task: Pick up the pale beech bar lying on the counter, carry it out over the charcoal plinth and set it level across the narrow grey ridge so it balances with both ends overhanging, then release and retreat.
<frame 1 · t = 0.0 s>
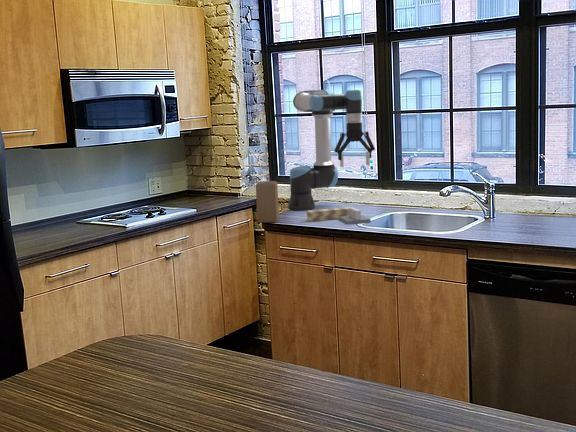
hand: (354, 166, 328), 28 cm above the countertop, fingers open, 13 cm apart
wooden block: (268, 221, 344), on the countertop
beech bar: (330, 219, 344), on the countertop
fulcrum: (354, 220, 336), on the countertop
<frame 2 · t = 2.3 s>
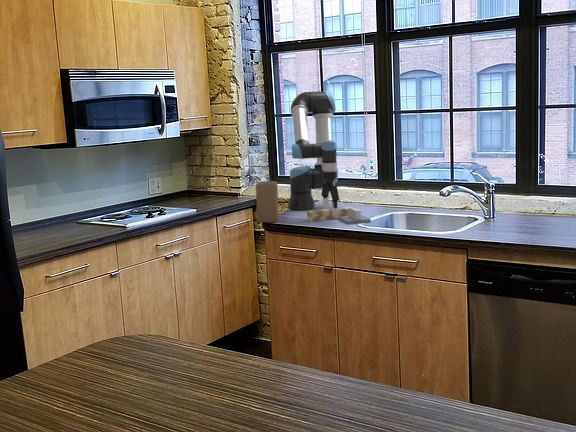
hand: (330, 212, 343), 3 cm above the countertop, fingers open, 13 cm apart
nothing on the countertop moved.
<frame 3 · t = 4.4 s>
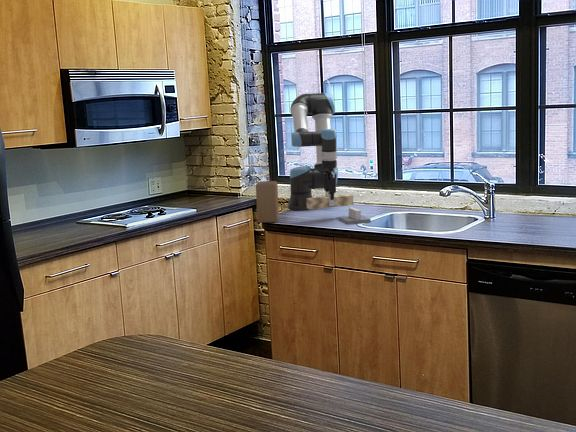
hand: (330, 204, 344), 7 cm above the countertop, fingers closed on beech bar, 4 cm apart
beech bar: (330, 206, 344), point 6 cm above the countertop, touching gripper
everything else where it was.
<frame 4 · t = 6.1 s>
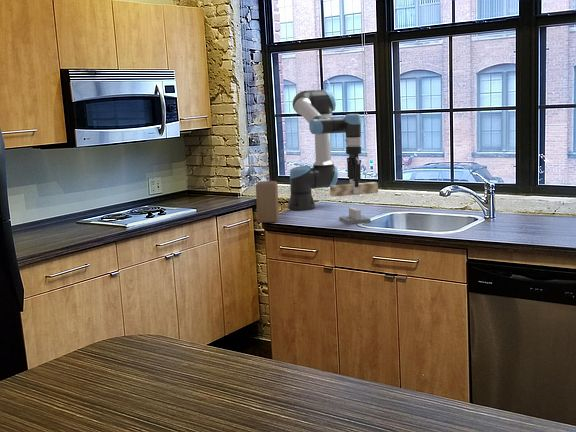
hand: (354, 192, 334), 14 cm above the countertop, fingers closed on beech bar, 4 cm apart
beech bar: (354, 194, 334), point 14 cm above the countertop, touching gripper
everything else where it was.
when the fingers open (8 cm above the countertop, at t = 7.7 s): beech bar stays where it is, resting on fulcrum.
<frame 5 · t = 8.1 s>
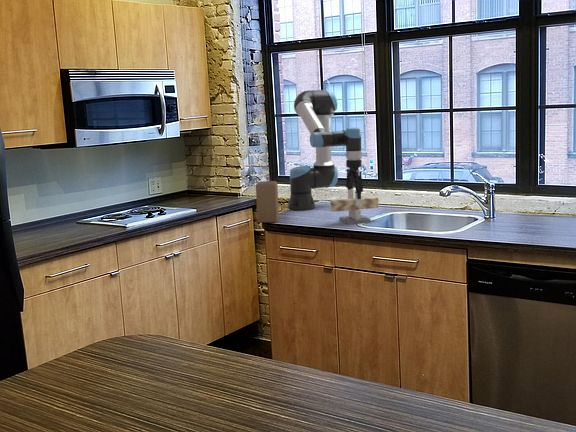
hand: (354, 203, 335), 9 cm above the countertop, fingers open, 10 cm apart
beech bar: (354, 209, 335), point 6 cm above the countertop, touching fulcrum
everything else where it was.
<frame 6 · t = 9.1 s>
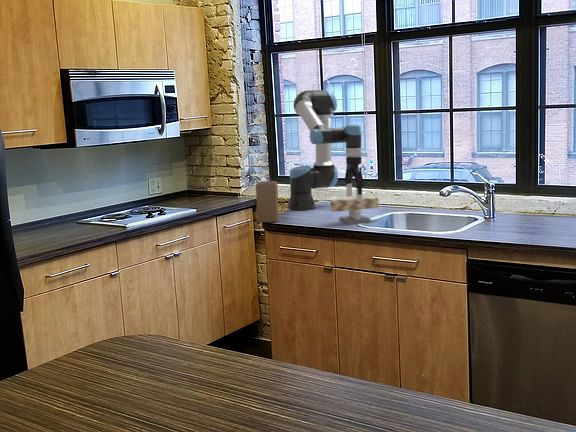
hand: (354, 198, 334), 11 cm above the countertop, fingers open, 13 cm apart
nothing on the countertop moved.
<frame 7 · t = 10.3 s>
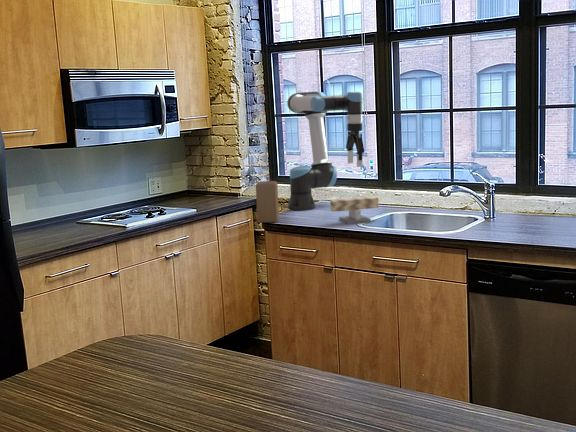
hand: (354, 165, 340), 27 cm above the countertop, fingers open, 13 cm apart
nothing on the countertop moved.
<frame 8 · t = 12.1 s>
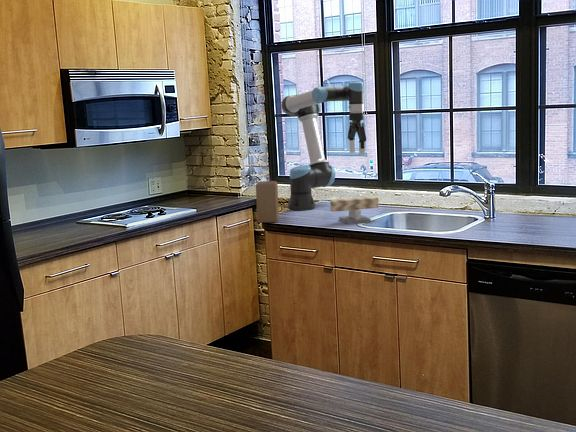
hand: (357, 153, 347), 32 cm above the countertop, fingers open, 13 cm apart
nothing on the countertop moved.
at the end: beech bar 0.1 cm off-centre on the fulcrum, point 6.0 cm above the fulcrum's base; beech bar tilted 0°; beech bar touching fulcrum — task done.
